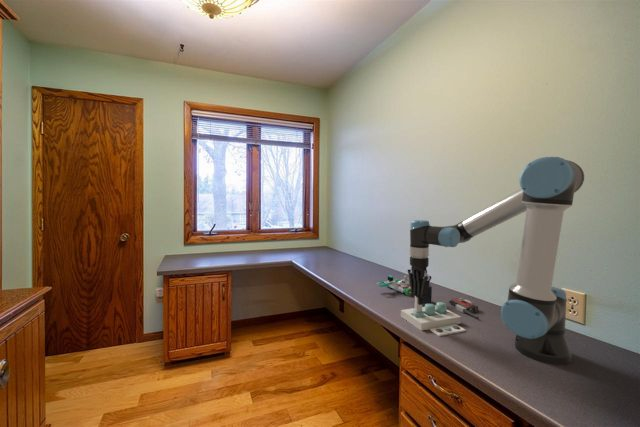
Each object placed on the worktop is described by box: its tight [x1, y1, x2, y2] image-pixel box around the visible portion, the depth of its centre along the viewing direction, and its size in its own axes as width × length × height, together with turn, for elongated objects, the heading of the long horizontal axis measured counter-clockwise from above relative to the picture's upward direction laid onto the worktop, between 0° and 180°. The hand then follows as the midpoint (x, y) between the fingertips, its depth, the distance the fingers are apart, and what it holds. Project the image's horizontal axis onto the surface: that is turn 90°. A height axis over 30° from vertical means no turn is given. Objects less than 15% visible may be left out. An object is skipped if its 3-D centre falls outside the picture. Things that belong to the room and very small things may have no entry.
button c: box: [413, 310, 424, 318], centre depth 119 cm, size 4×4×4 cm
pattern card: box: [429, 324, 467, 337], centre depth 111 cm, size 5×13×1 cm, turn 108°
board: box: [400, 304, 462, 331], centre depth 121 cm, size 14×20×3 cm
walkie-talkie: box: [448, 297, 480, 319], centre depth 131 cm, size 9×4×20 cm
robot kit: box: [375, 274, 413, 297], centre depth 159 cm, size 19×25×9 cm
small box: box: [422, 283, 433, 307], centre depth 140 cm, size 11×6×10 cm, turn 168°
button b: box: [425, 303, 436, 316], centre depth 120 cm, size 4×4×4 cm
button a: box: [435, 301, 448, 314], centre depth 122 cm, size 4×4×4 cm
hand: (418, 310), depth 119 cm, fingers closed
